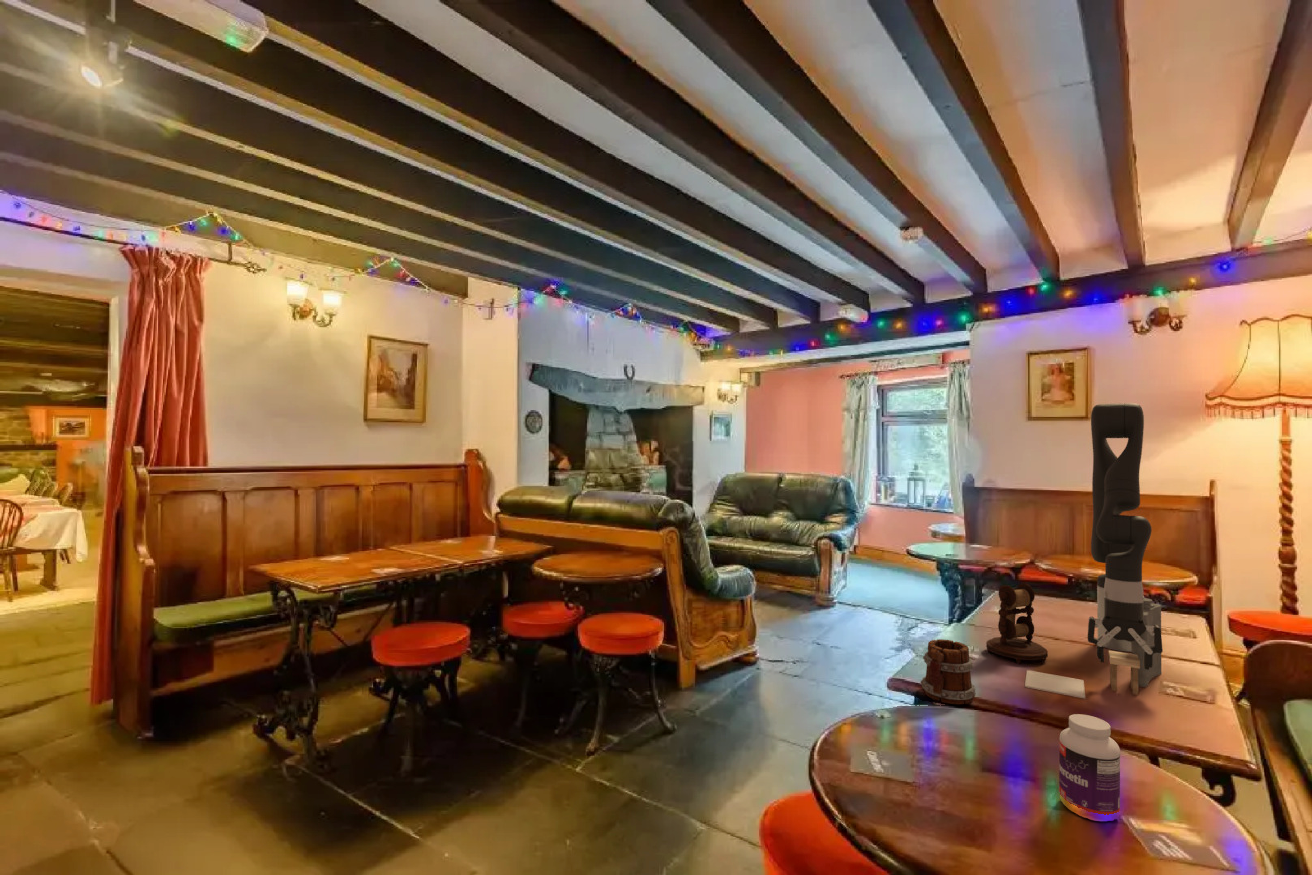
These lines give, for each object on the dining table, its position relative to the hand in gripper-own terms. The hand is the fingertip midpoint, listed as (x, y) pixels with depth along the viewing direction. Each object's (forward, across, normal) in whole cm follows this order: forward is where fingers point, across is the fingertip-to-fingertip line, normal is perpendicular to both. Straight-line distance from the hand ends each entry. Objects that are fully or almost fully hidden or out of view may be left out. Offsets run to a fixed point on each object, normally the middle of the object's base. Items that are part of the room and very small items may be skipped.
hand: (1123, 664), depth 147 cm
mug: (+6, +35, +29) cm, 46 cm away
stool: (+6, 0, 0) cm, 6 cm away
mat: (+6, +14, +6) cm, 16 cm away
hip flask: (+6, -5, -12) cm, 14 cm away
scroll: (+6, +23, -12) cm, 27 cm away
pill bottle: (+7, +9, +64) cm, 65 cm away
